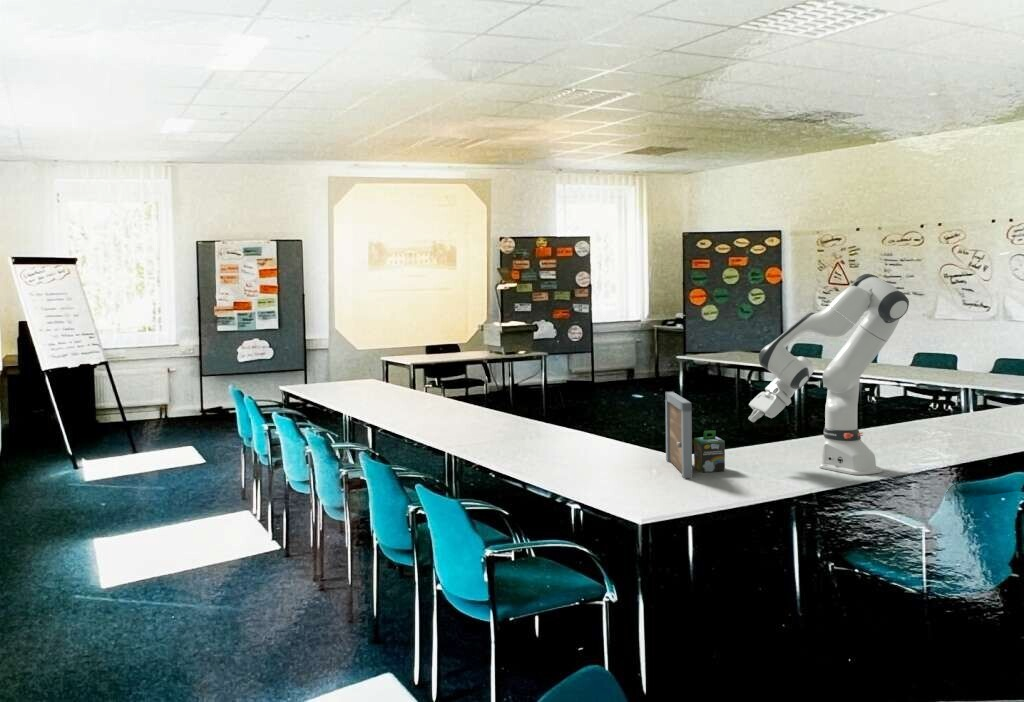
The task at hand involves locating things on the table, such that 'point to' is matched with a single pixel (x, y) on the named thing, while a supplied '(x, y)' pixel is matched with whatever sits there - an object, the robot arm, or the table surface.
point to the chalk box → (709, 453)
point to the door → (675, 437)
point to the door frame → (685, 430)
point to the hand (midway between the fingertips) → (750, 420)
